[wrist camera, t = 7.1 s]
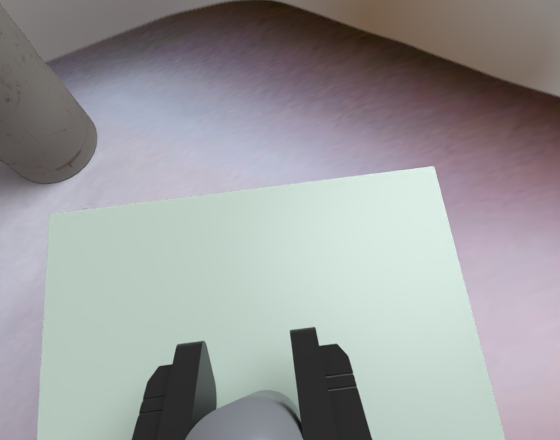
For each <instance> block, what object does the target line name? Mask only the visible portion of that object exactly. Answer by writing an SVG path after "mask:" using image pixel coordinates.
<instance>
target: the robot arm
mask: <svg viewBox="0 0 560 440" xmlns="http://www.w3.org/2000/svg"><path fill="white" fill-rule="evenodd" d="M290 338H291V346H292V354H293V362H294V370H295V378H296V386H297V394H298V402H299V411H300V419H301V427H302V435H303V440H372V437H371V434H370V430H369V427H368V423H367V420H366V416H365V412H364V409H363V405H362V402H361V398H360V395H359V391H358V388H357V384H356V381H355V377H354V375H353V370H352V367H351V363H350V360H349V356H348V355H347V354H346V353H345V352H344V351H343V350H342V348H341V347H340V346H339V345H338V344H329V345H321V346H319V342H318V337H317V332H316V328H315V327H309V328H302V329H294V330H290ZM216 406H217V394H216V384H215V379H214V375H213V370H212V366H211V362H210V358H209V353H208V349H207V345H206V342H205V341H198V342H190V343H182V344H177V346H176V350H175V354H174V359H173V364H170V365H163V366H159V367H158V368H157V369H156V371H155V372H154V373H153V375H152V376H151V377H150V379H149V380H148V381H147V385H146V389H145V392H144V396H143V402H142V403H141V407H140V411H139V416H138V418H137V422H136V425H135V429H134V433H133V436H132V440H185V439H186V437H187V436H188V434H189V433H190V431H191V430H192V429H193V427H194V426H195V425H196V424H197V423H198V422H199V421H200V420H201V419H202V418H204V417H205V416H206V415H208V414H209V413H211V412H212V411H214V410H216Z"/></svg>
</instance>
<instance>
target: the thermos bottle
mask: <svg viewBox="0 0 560 440" xmlns="http://www.w3.org/2000/svg"><path fill="white" fill-rule="evenodd" d="M96 144H97V133H96V128H95V126H94V123H93V122H92V120H91V119H90V117H89V116H88V115H87V114H86V112H85V111H84V110H83V108H82V107H81V106H80V105H79V103H78V102H77V101H76V100H75V98H74V97H73V96H72V94H71V93H70V92H69V91H68V89H67V88H66V87H65V85H64V84H63V83H62V82H61V80H60V79H59V78H58V77H57V76H56V74H55V73H54V72H53V71H52V70H51V69H50V68H49V67H48V65H47V64H46V63H45V62H44V61H43V59H42V58H41V57H40V56H39V54H38V53H37V52H36V50H35V48H34V47H33V46H32V44H31V43H30V41H29V40H28V39H27V37H26V36H25V34H24V33H23V32H22V31H21V29H20V28H19V27H18V26H17V24H16V23H15V22H14V21H13V19H12V18H11V17H10V15H9V14H8V13H7V11H6V10H5V9H4V8H3V6H2V5H1V4H0V160H1V161H2V162H4V163H5V164H6V165H8V166H9V167H10V168H12V169H13V170H15V171H16V172H17V173H19V174H20V175H21V176H23V177H25V178H26V179H28V180H31V181H34V182H38V183H55V182H59V181H63V180H65V179H67V178H70V177H72V176H73V175H75V174H76V173H78V172H79V171H80V170H81V169H82V168H84V167H85V166H86V164H87V163H88V162H89V161H90V159H91V157H92V155H93V154H94V151H95V148H96Z"/></svg>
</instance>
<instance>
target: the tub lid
mask: <svg viewBox="0 0 560 440" xmlns="http://www.w3.org/2000/svg"><path fill="white" fill-rule="evenodd" d="M309 327H315V328H316V332H317V337H318V342H319V346H321V345H329V344H338V345H339V346H340V347H341V348H342V350H343V351H344V352H345V353H346V354H347V355H348V356H349V360H350V363H351V367H352V370H353V375H354V377H355V381H356V384H357V388H358V391H359V395H360V398H361V402H362V405H363V409H364V412H365V416H366V420H367V423H368V427H369V430H370V434H371V437H372V440H505V436H504V433H503V429H502V425H501V421H500V417H499V413H498V410H497V406H496V402H495V398H494V394H493V390H492V387H491V383H490V379H489V375H488V371H487V367H486V364H485V360H484V356H483V352H482V348H481V344H480V341H479V337H478V333H477V329H476V325H475V321H474V318H473V314H472V310H471V306H470V302H469V298H468V295H467V291H466V287H465V283H464V279H463V275H462V272H461V268H460V264H459V260H458V256H457V252H456V249H455V245H454V241H453V237H452V233H451V229H450V226H449V222H448V218H447V214H446V210H445V206H444V203H443V199H442V195H441V191H440V187H439V183H438V180H437V176H436V172H435V168H434V166H432V167H424V168H416V169H408V170H400V171H392V172H384V173H376V174H368V175H359V176H351V177H343V178H335V179H327V180H319V181H311V182H303V183H295V184H287V185H279V186H270V187H262V188H254V189H246V190H238V191H230V192H222V193H214V194H206V195H198V196H189V197H181V198H173V199H165V200H157V201H149V202H141V203H133V204H125V205H117V206H109V207H100V208H92V209H84V210H76V211H68V212H60V213H52V214H49V229H48V247H47V265H46V283H45V301H44V319H43V337H42V355H41V373H40V391H39V409H38V426H37V440H132V436H133V433H134V429H135V425H136V422H137V418H138V416H139V411H140V407H141V403H142V402H143V396H144V392H145V389H146V385H147V381H148V380H149V379H150V377H151V376H152V375H153V373H154V372H155V371H156V369H157V368H158V367H159V366H163V365H170V364H173V359H174V354H175V350H176V346H177V344H182V343H190V342H198V341H205V342H206V345H207V349H208V353H209V358H210V362H211V366H212V370H213V375H214V379H215V384H216V394H217V406H216V410H214V411H212V412H211V413H209V414H208V415H206V416H205V417H204V418H202V419H201V420H200V421H199V422H198V423H197V424H196V425H195V426H194V427H193V429H192V430H191V431H190V433H189V434H188V436H187V437H186V439H185V440H303V435H302V427H301V419H300V411H299V402H298V394H297V386H296V378H295V370H294V362H293V354H292V346H291V338H290V330H294V329H302V328H309Z"/></svg>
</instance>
